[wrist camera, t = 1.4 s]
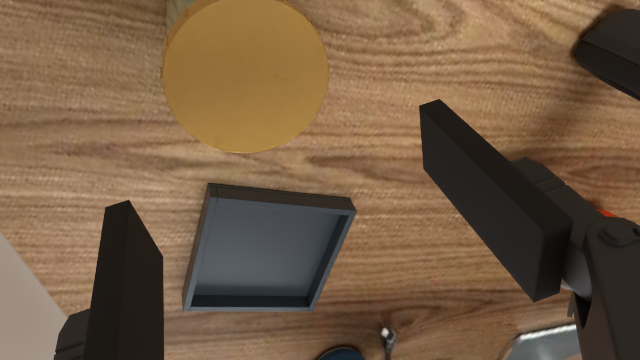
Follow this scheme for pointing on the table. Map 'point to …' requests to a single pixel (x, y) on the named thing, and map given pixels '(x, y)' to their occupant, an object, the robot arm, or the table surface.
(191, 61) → the lid
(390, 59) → the table surface
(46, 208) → the table surface
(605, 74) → the headphones
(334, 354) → the soda can
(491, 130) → the table surface
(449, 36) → the table surface
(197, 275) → the dish
